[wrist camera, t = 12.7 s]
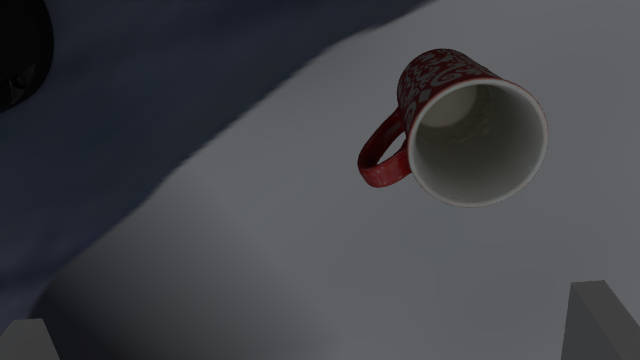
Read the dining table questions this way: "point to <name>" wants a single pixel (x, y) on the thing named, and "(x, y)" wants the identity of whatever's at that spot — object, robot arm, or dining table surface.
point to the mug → (459, 133)
